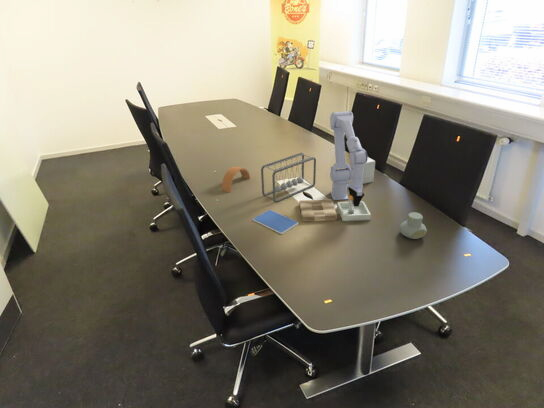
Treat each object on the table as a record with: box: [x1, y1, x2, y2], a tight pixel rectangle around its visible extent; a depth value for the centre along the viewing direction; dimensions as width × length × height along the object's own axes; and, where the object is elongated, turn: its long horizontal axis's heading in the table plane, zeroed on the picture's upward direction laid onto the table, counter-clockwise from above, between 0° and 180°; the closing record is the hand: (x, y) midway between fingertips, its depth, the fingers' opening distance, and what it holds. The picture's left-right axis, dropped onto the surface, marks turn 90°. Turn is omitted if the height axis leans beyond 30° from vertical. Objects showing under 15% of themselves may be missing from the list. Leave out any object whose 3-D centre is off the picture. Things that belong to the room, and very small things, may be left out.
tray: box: [336, 200, 372, 222], centre depth 172 cm, size 13×13×3 cm
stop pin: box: [347, 194, 355, 214], centre depth 170 cm, size 4×4×9 cm
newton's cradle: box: [260, 152, 317, 203], centre depth 191 cm, size 30×10×18 cm, turn 129°
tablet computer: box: [252, 209, 299, 235], centre depth 168 cm, size 19×13×1 cm, turn 47°
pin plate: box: [299, 198, 338, 222], centre depth 174 cm, size 16×16×2 cm
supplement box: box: [362, 156, 376, 185], centre depth 201 cm, size 7×7×13 cm
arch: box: [221, 166, 251, 193], centre depth 202 cm, size 6×20×10 cm, turn 148°
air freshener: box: [399, 211, 428, 240], centre depth 153 cm, size 11×8×10 cm
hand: (354, 202), depth 169 cm, fingers open, 7 cm apart
